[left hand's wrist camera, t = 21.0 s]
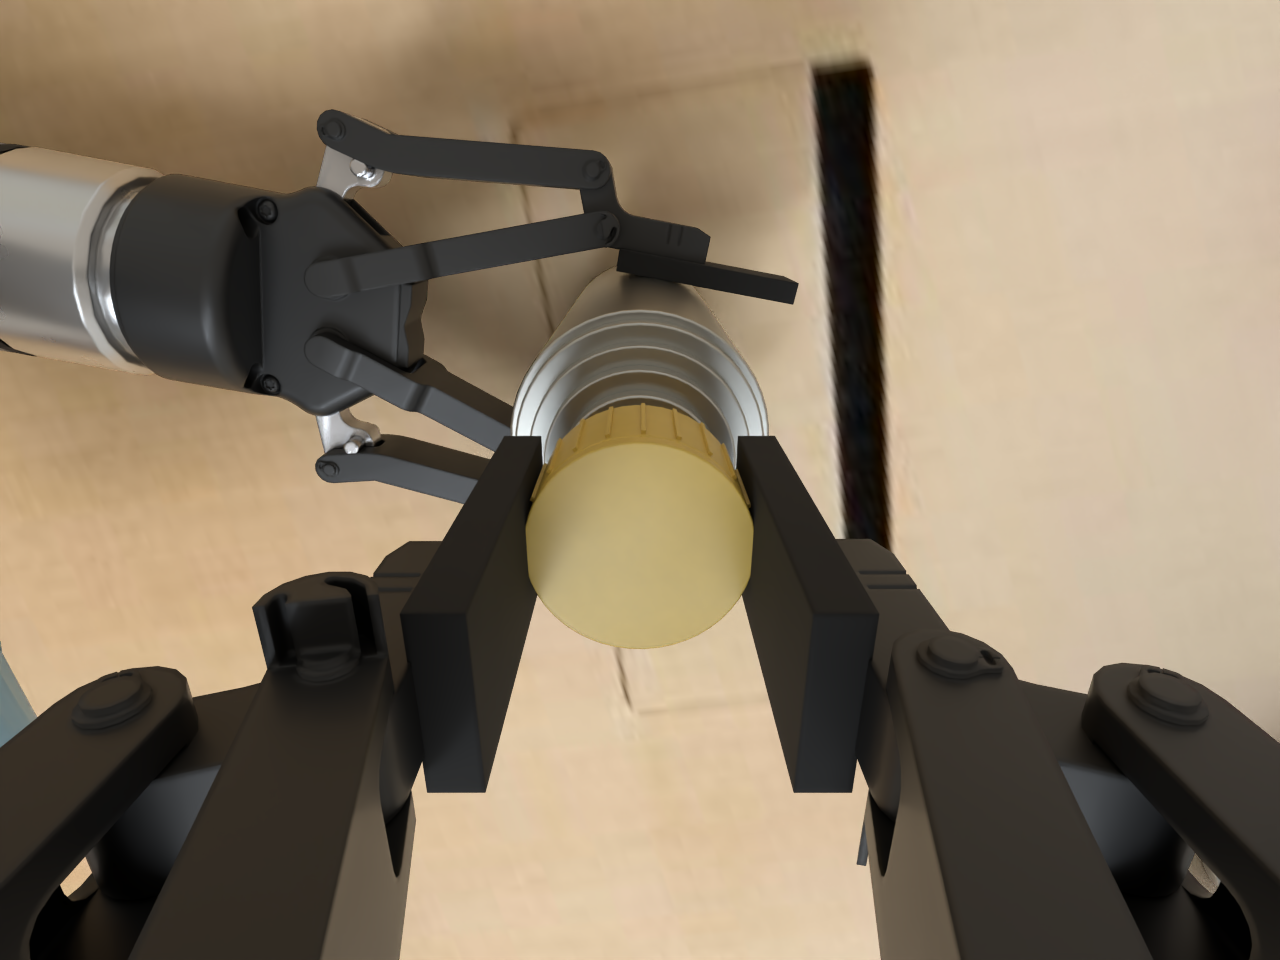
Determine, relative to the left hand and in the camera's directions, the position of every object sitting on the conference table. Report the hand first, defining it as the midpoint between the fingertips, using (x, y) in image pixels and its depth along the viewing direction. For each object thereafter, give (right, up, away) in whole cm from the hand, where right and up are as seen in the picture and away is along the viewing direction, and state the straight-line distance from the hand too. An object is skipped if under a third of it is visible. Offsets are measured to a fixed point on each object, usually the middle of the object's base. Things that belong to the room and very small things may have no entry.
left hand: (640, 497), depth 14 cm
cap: (0, -1, -2) cm, 2 cm away
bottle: (0, +7, +18) cm, 20 cm away
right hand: (+5, +4, +13) cm, 14 cm away
